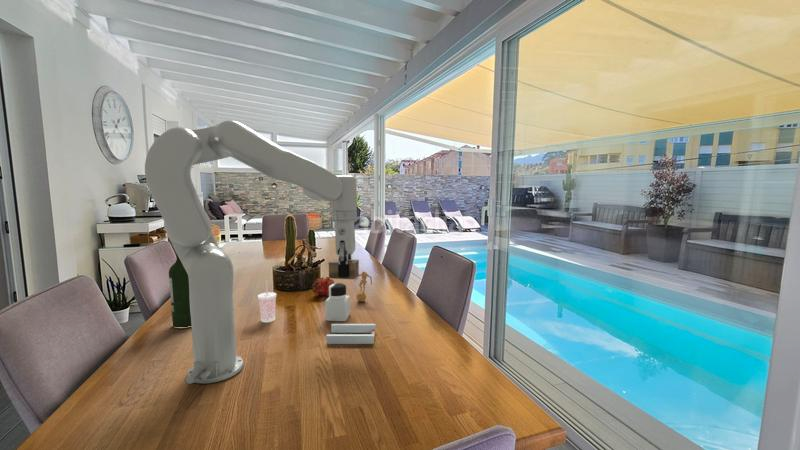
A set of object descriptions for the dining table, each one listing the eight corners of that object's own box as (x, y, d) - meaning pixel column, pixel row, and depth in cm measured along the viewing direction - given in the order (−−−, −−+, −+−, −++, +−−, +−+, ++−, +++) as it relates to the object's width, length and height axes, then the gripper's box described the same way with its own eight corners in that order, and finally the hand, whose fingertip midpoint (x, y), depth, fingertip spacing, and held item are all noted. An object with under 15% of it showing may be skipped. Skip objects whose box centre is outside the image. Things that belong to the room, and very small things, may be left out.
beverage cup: (255, 322, 123) (253, 282, 121) (265, 315, 129) (264, 277, 127) (270, 324, 121) (269, 283, 120) (281, 317, 127) (279, 278, 125)
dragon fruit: (310, 302, 148) (333, 299, 157) (321, 293, 144) (344, 290, 153) (304, 283, 152) (327, 281, 161) (315, 274, 147) (338, 272, 156)
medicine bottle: (350, 314, 130) (349, 282, 129) (345, 321, 123) (344, 287, 122) (331, 313, 131) (330, 281, 130) (325, 321, 124) (324, 287, 122)
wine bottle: (175, 321, 123) (169, 235, 120) (201, 318, 126) (196, 234, 122) (170, 330, 116) (162, 239, 112) (198, 327, 118) (191, 237, 115)
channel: (373, 343, 106) (373, 335, 106) (326, 343, 106) (326, 335, 106) (375, 331, 115) (375, 323, 115) (331, 331, 115) (331, 323, 115)
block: (354, 279, 108) (354, 263, 107) (328, 278, 109) (328, 262, 109) (358, 275, 113) (358, 259, 112) (334, 274, 114) (334, 258, 113)
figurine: (349, 301, 144) (349, 272, 143) (358, 297, 150) (357, 269, 148) (367, 304, 141) (367, 274, 139) (375, 300, 146) (375, 271, 144)
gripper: (353, 219, 100) (354, 282, 102) (359, 213, 117) (360, 268, 119) (326, 219, 100) (327, 282, 102) (336, 213, 117) (337, 268, 119)
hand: (345, 274), depth 111 cm, fingers closed on block, 5 cm apart
